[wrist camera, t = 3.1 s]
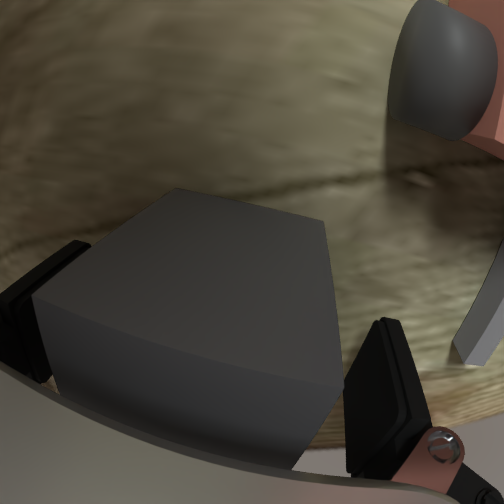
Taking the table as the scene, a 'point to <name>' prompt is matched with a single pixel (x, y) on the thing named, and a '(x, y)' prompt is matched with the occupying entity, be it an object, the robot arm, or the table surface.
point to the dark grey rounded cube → (201, 327)
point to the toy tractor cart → (458, 116)
